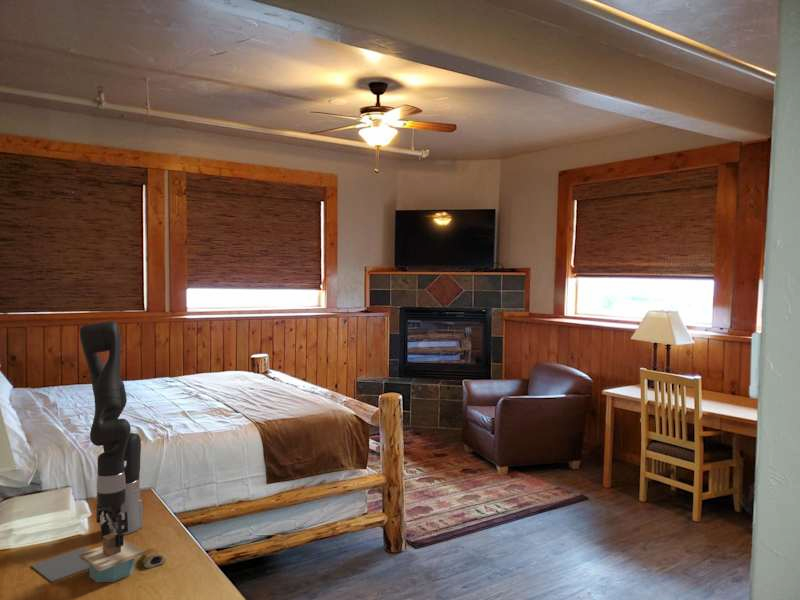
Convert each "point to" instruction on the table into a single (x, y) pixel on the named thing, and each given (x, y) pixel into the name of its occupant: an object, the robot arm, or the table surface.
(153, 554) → the pastry
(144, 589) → the table surface
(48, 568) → the mat
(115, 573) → the bowl
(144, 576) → the table surface
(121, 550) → the lid
